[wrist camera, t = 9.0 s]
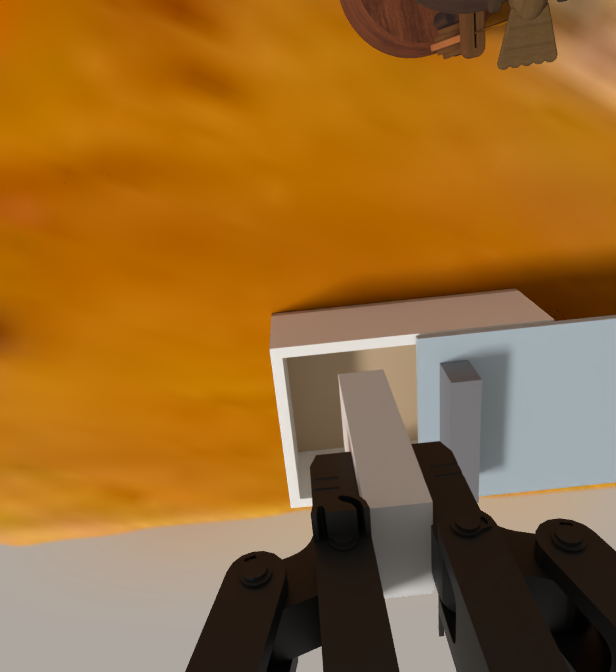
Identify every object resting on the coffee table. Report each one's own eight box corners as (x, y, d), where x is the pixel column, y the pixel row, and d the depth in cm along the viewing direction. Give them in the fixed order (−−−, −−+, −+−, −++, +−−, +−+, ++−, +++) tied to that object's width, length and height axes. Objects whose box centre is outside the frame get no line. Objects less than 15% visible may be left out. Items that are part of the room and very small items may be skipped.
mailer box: (515, 288, 45) (554, 319, 39) (508, 433, 51) (540, 482, 44) (271, 313, 45) (269, 349, 39) (290, 456, 51) (291, 508, 44)
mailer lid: (702, 305, 39) (741, 325, 35) (670, 471, 44) (701, 501, 41) (415, 335, 39) (428, 357, 35) (419, 497, 44) (430, 529, 41)
